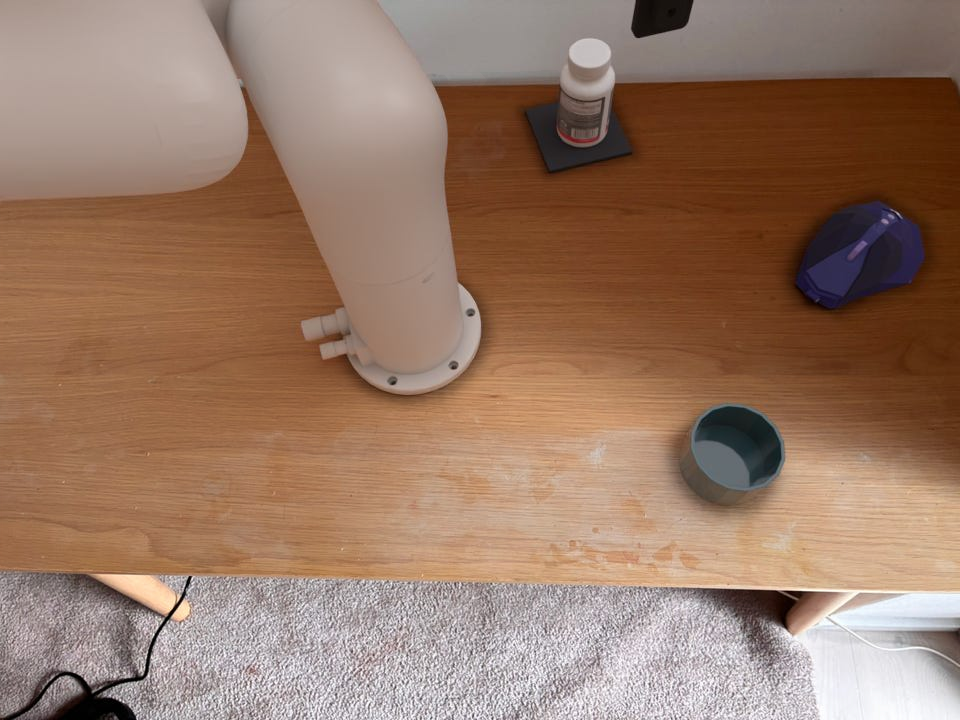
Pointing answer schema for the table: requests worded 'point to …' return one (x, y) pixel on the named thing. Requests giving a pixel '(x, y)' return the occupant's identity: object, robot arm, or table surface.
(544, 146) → the mat
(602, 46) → the pill bottle
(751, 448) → the cup
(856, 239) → the computer mouse
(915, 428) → the table surface
